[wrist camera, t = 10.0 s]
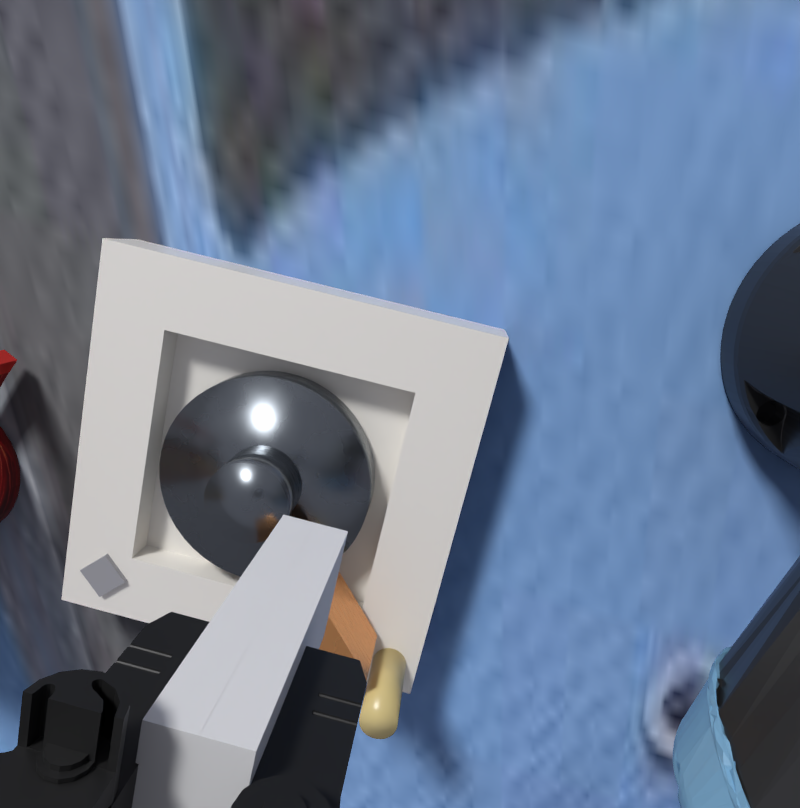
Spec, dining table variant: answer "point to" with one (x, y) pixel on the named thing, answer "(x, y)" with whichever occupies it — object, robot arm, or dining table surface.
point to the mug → (7, 453)
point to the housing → (292, 353)
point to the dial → (271, 479)
